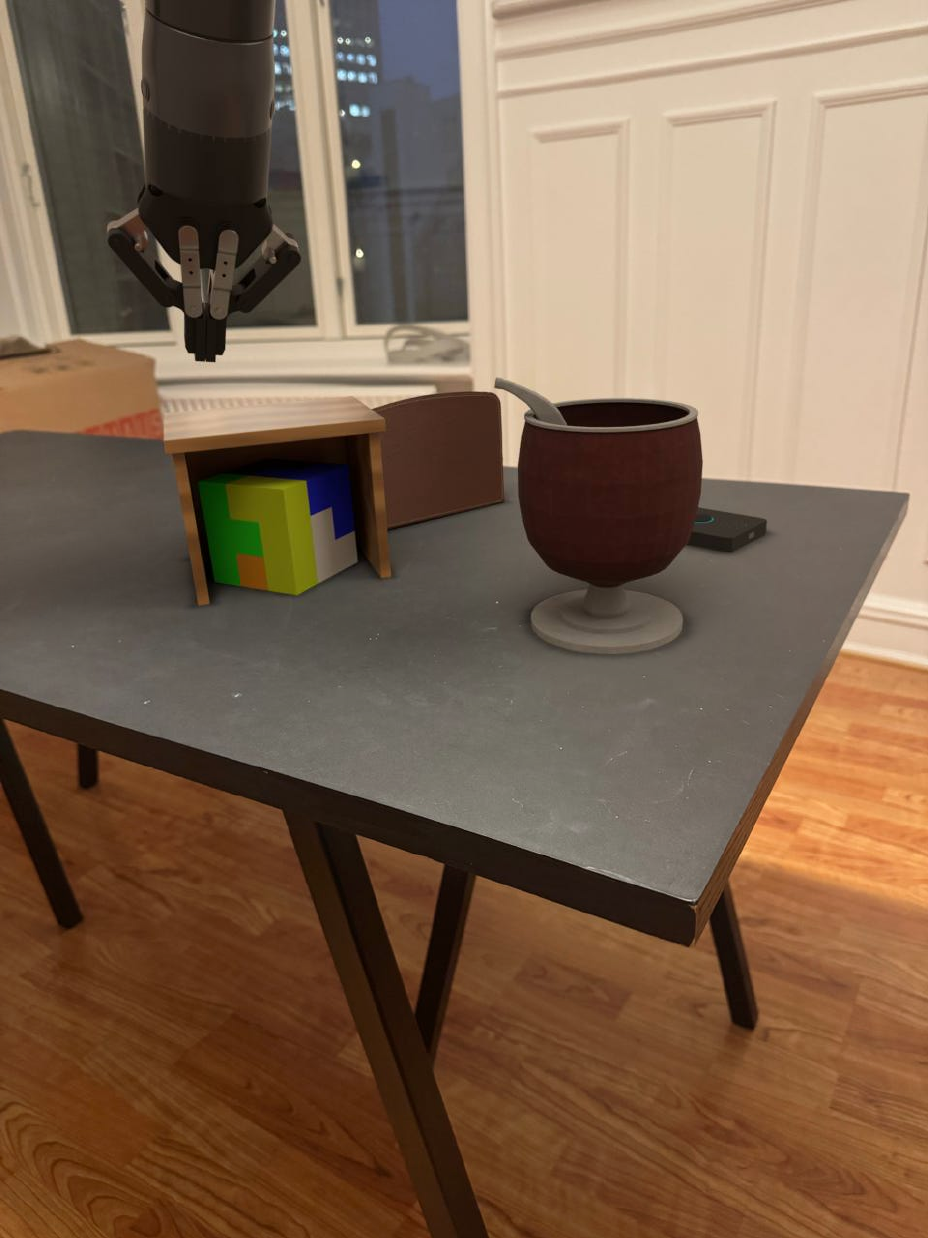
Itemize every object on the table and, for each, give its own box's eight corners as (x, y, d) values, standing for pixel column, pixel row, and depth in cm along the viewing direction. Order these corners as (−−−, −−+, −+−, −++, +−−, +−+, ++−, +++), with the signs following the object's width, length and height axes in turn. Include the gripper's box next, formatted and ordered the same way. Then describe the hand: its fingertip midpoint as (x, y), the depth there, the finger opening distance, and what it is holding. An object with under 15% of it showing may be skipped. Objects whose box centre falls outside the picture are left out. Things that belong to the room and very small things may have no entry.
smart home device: (731, 537, 86) (566, 506, 99) (730, 554, 87) (566, 521, 100) (770, 517, 92) (608, 490, 105) (768, 533, 92) (608, 504, 105)
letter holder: (506, 502, 108) (502, 384, 103) (365, 537, 98) (353, 407, 92) (458, 488, 116) (452, 377, 110) (322, 519, 105) (309, 398, 100)
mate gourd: (672, 589, 79) (683, 356, 71) (712, 655, 66) (731, 380, 59) (498, 596, 79) (491, 365, 72) (505, 663, 67) (497, 391, 59)
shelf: (397, 578, 85) (384, 418, 79) (193, 608, 80) (163, 440, 74) (365, 535, 98) (352, 395, 92) (188, 559, 93) (162, 413, 87)
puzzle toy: (357, 562, 90) (348, 464, 86) (296, 595, 82) (283, 489, 78) (279, 551, 94) (267, 458, 91) (214, 582, 86) (197, 481, 82)
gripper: (310, 97, 58) (287, 333, 70) (90, 62, 53) (107, 321, 66) (328, 146, 53) (300, 390, 66) (89, 113, 49) (108, 381, 61)
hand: (204, 355), depth 66 cm, fingers closed
